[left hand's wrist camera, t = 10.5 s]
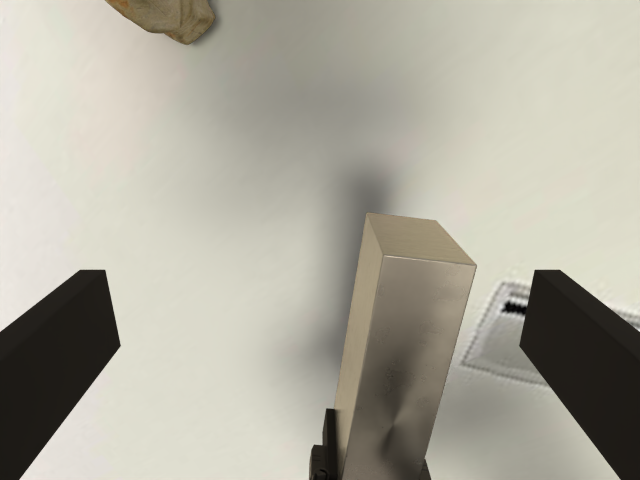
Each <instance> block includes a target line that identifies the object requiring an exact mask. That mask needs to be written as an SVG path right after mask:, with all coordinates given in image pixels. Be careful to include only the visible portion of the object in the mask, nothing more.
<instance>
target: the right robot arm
mask: <svg viewBox="0 0 640 480" xmlns="http://www.w3.org/2000/svg"><path fill="white" fill-rule="evenodd" d="M337 476H338V469H337V449H336V428H335V409H328V408H326V414H325V420H324V427H323V445H314V446H313V448H312V450H311V456H310V463H309V480H337ZM419 480H431V477H430V474H429V471H428V467H427V463H426V460H425V458H424V462H423V466H422V469H421V473H420V477H419Z"/></svg>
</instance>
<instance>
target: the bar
mask: <svg viewBox="0 0 640 480" xmlns="http://www.w3.org/2000/svg"><path fill="white" fill-rule="evenodd" d="M476 268H477V265H476V264H475V263H474V261H473V260H472V259H471V258H470V257H469V256H468V255H467V254H466V253H465V252H464V250H463V249H462V248H461V247H460V246H459V245H458V244H457V243H456V242H455V241H454V239H453V238H452V237H451V236H450V235H449V234H448V233H447V232H446V231H445V230H444V228H443V227H442V226H441V225H440V224H439V223H438V222H437V221H436V220H428V219H419V218H411V217H402V216H394V215H385V214H377V213H369V212H367V213H366V219H365V225H364V231H363V237H362V243H361V249H360V255H359V261H358V267H357V273H356V279H355V285H354V291H353V297H352V303H351V309H350V315H349V321H348V327H347V333H346V339H345V345H344V351H343V357H342V363H341V369H340V375H339V381H338V387H337V393H336V399H335V405H334V409H335V428H336V449H337V469H338V476H337V480H419V477H420V473H421V469H422V466H423V462H424V458H425V455H426V451H427V447H428V444H429V440H430V436H431V433H432V429H433V425H434V422H435V418H436V414H437V411H438V407H439V403H440V400H441V396H442V392H443V389H444V385H445V381H446V378H447V374H448V370H449V367H450V363H451V359H452V356H453V352H454V348H455V345H456V341H457V337H458V334H459V330H460V326H461V323H462V319H463V315H464V312H465V308H466V304H467V301H468V297H469V293H470V290H471V286H472V282H473V279H474V275H475V271H476Z"/></svg>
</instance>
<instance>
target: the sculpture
mask: <svg viewBox="0 0 640 480" xmlns="http://www.w3.org/2000/svg"><path fill="white" fill-rule="evenodd" d="M105 1H106V2H107V3H108V4H109V5H111V6H112V7H113V8H114V9H116V10H117V11H118V12H119V13H121V14H122V15H123V16H124V17H126V18H128V19H129V20H131V21H132V22H134V23H135V24H137V25H138V26H140V27H141V28H143V29H144V30H146V31H148V32H151V33H164V34H166V35H167V36H169V37H171V38H172V39H174V40H176V41H178V42H180V43H182V44H185V45H189V44H190V43H192V42H193V41H195V40H196V39H197V38H198V37H200V36H201V35H202V34H203V33H204V32H205V31H206V30H207V29H208V28H209V27H210V26H211V24H212V23H213V20H214V19H215V15H214V13H213V11H212V9H211V8H210V7H209V4H208V2H207V0H105Z"/></svg>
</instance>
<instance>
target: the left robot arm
mask: <svg viewBox="0 0 640 480" xmlns="http://www.w3.org/2000/svg"><path fill="white" fill-rule="evenodd" d="M120 346H121V345H120V340H119V335H118V330H117V325H116V320H115V316H114V311H113V306H112V301H111V296H110V291H109V286H108V281H107V276H106V271H105V270H79V271H78V272H77V273H75V274H74V275H73V276H72V277H70V278H69V279H68V280H66V281H65V282H64V283H63V284H61V285H60V286H59V287H57V288H56V289H55V290H54V291H52V292H51V293H50V294H48V295H47V296H46V297H45V298H43V299H42V300H41V301H39V302H38V303H37V304H36V305H34V306H33V307H32V308H30V309H29V310H28V311H27V312H25V313H24V314H23V315H21V316H20V317H19V318H18V319H16V320H15V321H14V322H12V323H11V324H10V325H9V326H7V327H6V328H5V329H3V330H2V331H1V332H0V480H19V479H20V478H21V477H22V475H23V474H24V473H25V471H26V470H27V469H28V467H29V466H30V465H31V464H32V462H33V461H34V460H35V458H36V457H37V456H38V454H39V453H40V452H41V450H42V449H43V448H44V446H45V445H46V444H47V442H48V441H49V440H50V438H51V437H52V436H53V435H54V433H55V432H56V431H57V429H58V428H59V427H60V425H61V424H62V423H63V421H64V420H65V419H66V417H67V416H68V415H69V413H70V412H71V411H72V409H73V408H74V407H75V405H76V404H77V403H78V402H79V400H80V399H81V398H82V396H83V395H84V394H85V392H86V391H87V390H88V388H89V387H90V386H91V384H92V383H93V382H94V380H95V379H96V378H97V376H98V375H99V374H100V373H101V371H102V370H103V369H104V367H105V366H106V365H107V363H108V362H109V361H110V359H111V358H112V357H113V355H114V354H115V353H116V351H117V350H118V349H119V347H120ZM519 346H520V347H521V349H522V350H523V351H524V353H525V354H526V355H527V357H528V358H529V359H530V361H531V362H532V363H533V365H534V366H535V367H536V369H537V370H538V371H539V373H540V374H541V375H542V376H543V378H544V379H545V380H546V382H547V383H548V384H549V386H550V387H551V388H552V390H553V391H554V392H555V394H556V395H557V396H558V398H559V399H560V400H561V402H562V403H563V404H564V406H565V407H566V408H567V409H568V411H569V412H570V413H571V415H572V416H573V417H574V419H575V420H576V421H577V423H578V424H579V425H580V427H581V428H582V429H583V431H584V432H585V433H586V435H587V436H588V437H589V438H590V440H591V441H592V442H593V444H594V445H595V446H596V448H597V449H598V450H599V452H600V453H601V454H602V456H603V457H604V458H605V460H606V461H607V462H608V464H609V465H610V466H611V467H612V469H613V470H614V471H615V473H616V474H617V475H618V477H619V478H620V479H621V480H640V332H639V331H638V330H637V329H635V328H634V327H633V326H631V325H630V324H629V323H628V322H626V321H625V320H624V319H622V318H621V317H620V316H619V315H617V314H616V313H615V312H613V311H612V310H611V309H610V308H608V307H607V306H606V305H604V304H603V303H602V302H601V301H599V300H598V299H597V298H595V297H594V296H593V295H592V294H590V293H589V292H588V291H586V290H585V289H584V288H583V287H581V286H580V285H579V284H577V283H576V282H575V281H574V280H572V279H571V278H570V277H568V276H567V275H566V274H565V273H563V272H562V271H561V270H535V271H534V276H533V281H532V286H531V291H530V296H529V301H528V306H527V311H526V316H525V320H524V325H523V330H522V335H521V340H520V345H519Z"/></svg>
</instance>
